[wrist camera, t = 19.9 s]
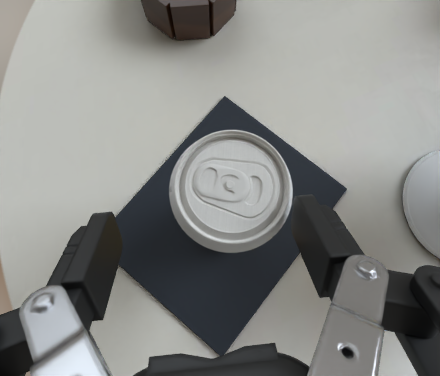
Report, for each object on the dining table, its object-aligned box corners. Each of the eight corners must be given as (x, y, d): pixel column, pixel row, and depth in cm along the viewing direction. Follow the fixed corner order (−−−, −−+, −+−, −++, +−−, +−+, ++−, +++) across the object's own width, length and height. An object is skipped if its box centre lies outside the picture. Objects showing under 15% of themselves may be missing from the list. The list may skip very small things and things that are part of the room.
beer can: (247, 254, 26) (286, 268, 12) (185, 239, 27) (148, 235, 12) (259, 193, 28) (309, 137, 13) (200, 179, 28) (184, 109, 13)
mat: (221, 355, 25) (221, 357, 25) (95, 241, 27) (93, 242, 26) (345, 189, 28) (347, 188, 28) (224, 97, 30) (224, 95, 30)
